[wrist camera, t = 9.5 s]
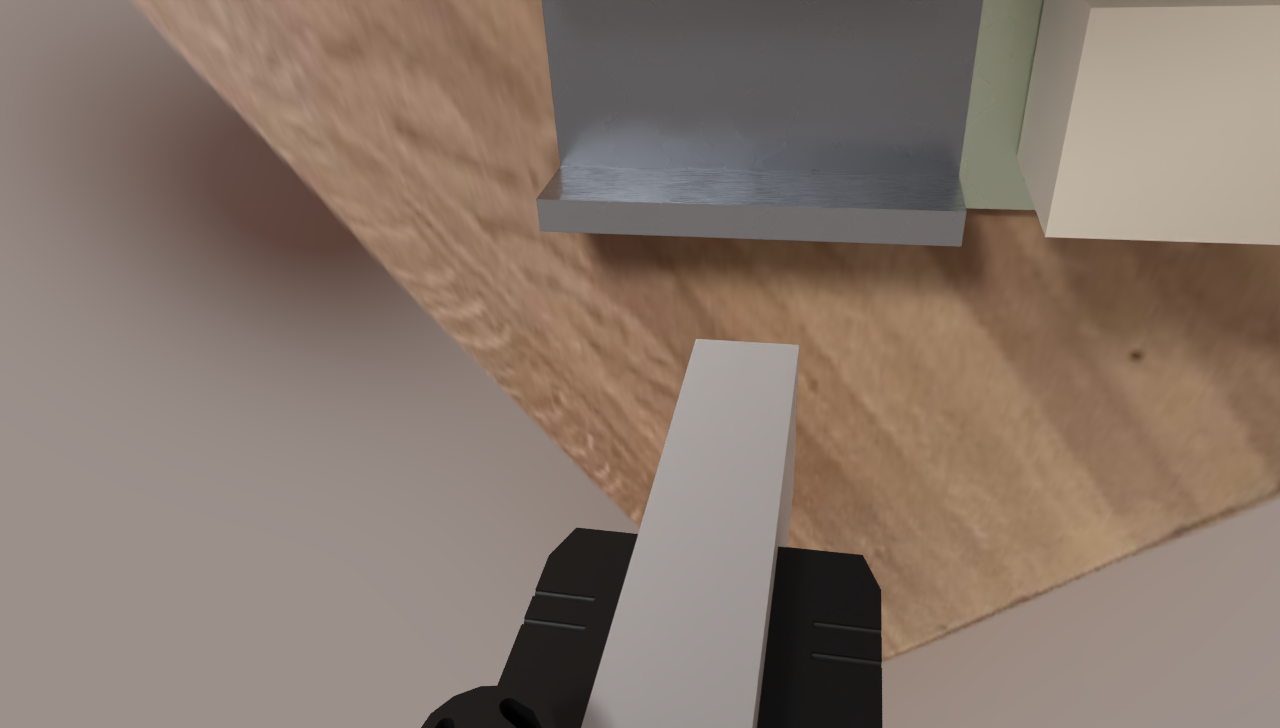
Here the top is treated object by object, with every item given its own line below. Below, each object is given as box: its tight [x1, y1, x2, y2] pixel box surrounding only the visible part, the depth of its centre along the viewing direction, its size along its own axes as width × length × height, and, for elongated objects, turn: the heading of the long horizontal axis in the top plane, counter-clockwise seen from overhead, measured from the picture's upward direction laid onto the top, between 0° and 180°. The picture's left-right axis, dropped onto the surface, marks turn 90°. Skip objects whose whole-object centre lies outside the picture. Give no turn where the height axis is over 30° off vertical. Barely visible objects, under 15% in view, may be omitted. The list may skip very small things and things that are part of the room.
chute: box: [536, 0, 1044, 247], centre depth 28 cm, size 10×24×3 cm, turn 94°
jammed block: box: [1017, 0, 1280, 245], centre depth 25 cm, size 6×8×6 cm
